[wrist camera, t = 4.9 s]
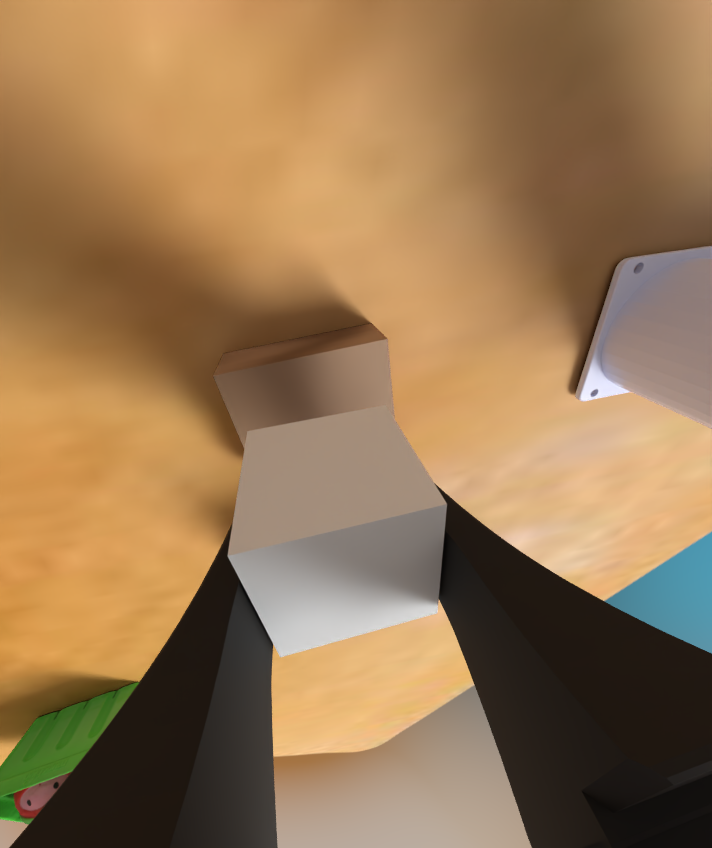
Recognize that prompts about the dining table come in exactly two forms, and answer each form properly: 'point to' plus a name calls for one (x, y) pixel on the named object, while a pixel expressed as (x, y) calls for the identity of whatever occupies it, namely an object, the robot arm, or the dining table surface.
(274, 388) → the walnut base
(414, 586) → the grey block
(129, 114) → the dining table surface
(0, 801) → the fruit basket
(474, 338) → the dining table surface
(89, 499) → the dining table surface
